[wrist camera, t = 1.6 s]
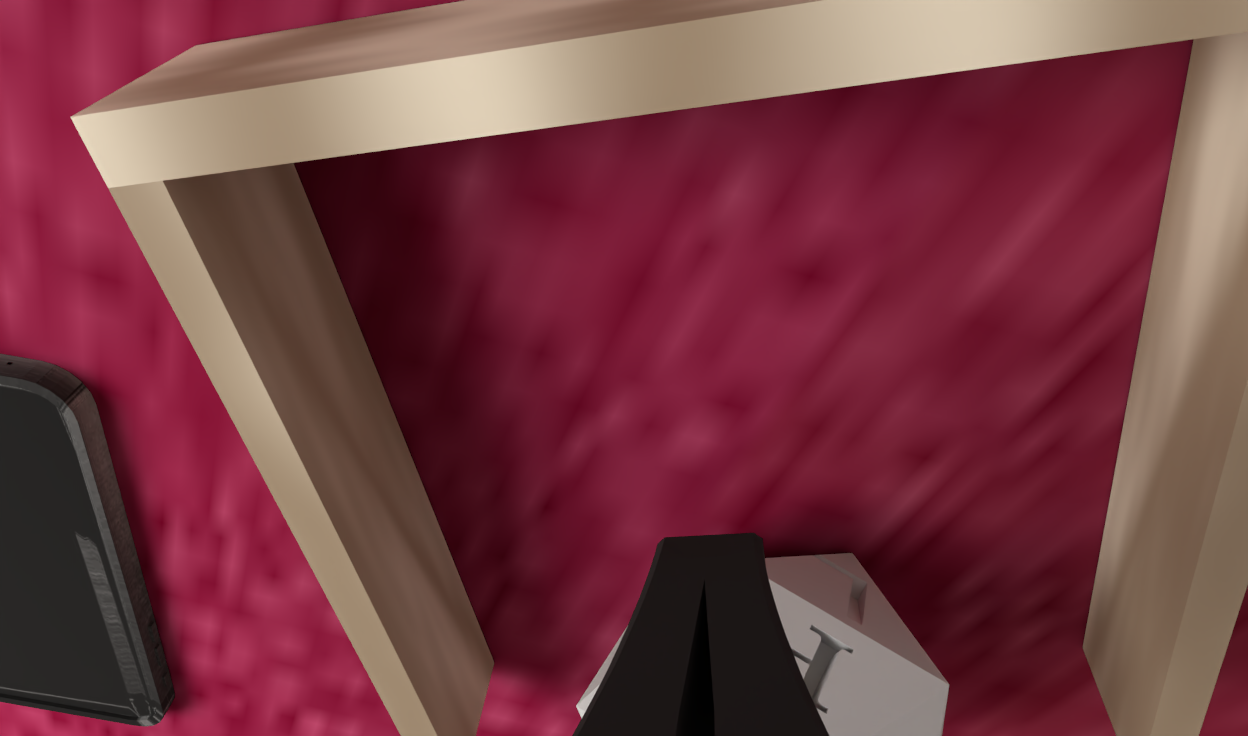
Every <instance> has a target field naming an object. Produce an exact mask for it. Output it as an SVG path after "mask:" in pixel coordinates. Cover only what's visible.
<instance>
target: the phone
mask: <svg viewBox="0 0 1248 736" xmlns="http://www.w3.org/2000/svg"><path fill="white" fill-rule="evenodd" d="M8 362H13V363H12V364H11V365H8V364H7V363H8ZM174 698H175V692H174V688H173V684H172V681H171V677H170V673H169V670H168V666H167V662H166V659H165V655H164V651H163V648H162V644H161V640H160V637H159V633H158V629H157V626H156V622H155V618H154V614H153V611H152V607H151V603H150V600H149V596H148V592H147V589H146V585H145V581H144V578H143V574H142V570H141V567H140V563H139V559H138V556H137V552H136V548H135V545H134V541H133V537H132V534H131V530H130V526H129V523H128V519H127V515H126V512H125V508H124V504H123V501H122V497H121V493H120V490H119V486H118V482H117V479H116V475H115V471H114V468H113V464H112V460H111V457H110V453H109V449H108V446H107V442H106V438H105V435H104V431H103V427H102V424H101V420H100V416H99V412H98V409H97V405H96V403H95V401H94V398H93V396H92V394H91V392H90V391H89V390H88V389H87V388H86V386H85V385H84V384H83V383H82V382H81V381H80V380H79V379H77V378H76V377H75V376H74V375H72V374H71V373H70V372H68V371H66V370H64V369H62V368H60V367H58V366H56V365H54V364H50V363H47V362H43V361H39V360H34V359H28V358H22V357H16V356H10V355H4V354H0V702H5V703H11V704H17V705H22V706H28V707H34V708H39V709H45V710H51V711H56V712H62V713H68V714H73V715H79V716H85V717H90V718H96V719H102V720H107V721H113V722H119V723H124V724H130V725H136V726H152V725H155V724H157V723H159V722H160V721H161V720H162V718H163V717H164V715H165V713H166V712H167V710H168V708H169V707H170V705H171V703H172V701H173V700H174Z"/></svg>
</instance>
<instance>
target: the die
mask: <svg viewBox="0 0 1248 736" xmlns="http://www.w3.org/2000/svg"><path fill="white" fill-rule="evenodd" d="M765 563H766V570H767V575H768V579H769V583H770V587H771V591H772V594H773V597H774V601H775V604H776V607H777V610H778V614H779V617H780V620H781V623H782V625H783V628H784V631H785V634H786V637H787V639H788V642H789V644H790V647H791V649H792V652H793V654H794V657H795V659H796V662H797V664H798V667H799V670H800V672H801V675H802V677H803V679H804V682H805V684H806V686H807V688H808V691H809V693H810V695H811V698H812V700H813V702H814V704H815V706H816V708H817V710H818V713H819V715H820V717H821V719H822V721H823V723H824V725H825V728H826V730H827V732H828V734H829V736H942V731H943V724H944V718H945V711H946V704H947V697H948V690H949V684H948V682H947V681H946V679H945V678H944V677H943V675H942V674H941V673H940V671H939V670H938V669H937V667H936V666H935V665H934V663H933V662H932V660H931V659H930V658H929V656H928V655H927V654H926V652H925V651H924V650H923V648H922V647H921V645H920V644H919V643H918V641H917V640H916V639H915V637H914V636H913V635H912V633H911V632H910V631H909V629H908V628H907V626H906V625H905V624H904V622H903V621H902V620H901V618H900V617H899V616H898V614H897V613H896V612H895V610H894V609H893V607H892V606H891V605H890V603H889V602H888V601H887V599H886V598H885V597H884V595H883V594H882V592H881V591H880V590H879V588H878V587H877V586H876V584H875V583H874V582H873V580H872V579H871V578H870V576H869V575H868V573H867V572H866V571H865V569H864V568H863V567H862V565H861V564H860V563H859V561H858V560H857V558H856V557H855V556H854V554H853V553H842V554H825V555H809V556H792V557H775V558H765ZM627 627H628V626H627ZM626 629H627V628H626ZM626 629H625V631H626ZM625 631H624V632H623V634H622V635H621V637H620V639H619V640H618V642H617V643H616V645H615V646H614V648H613V649H612V651H611V652H610V654H609V656H608V657H607V659H606V660H605V662H604V663H603V665H602V666H601V668H600V670H599V671H598V673H597V674H596V676H595V677H594V679H593V680H592V682H591V683H590V685H589V687H588V688H587V690H586V691H585V693H584V694H583V696H582V697H581V699H580V701H579V702H578V704H577V705H576V707H577V709H578V711H579V714H580V716H581V718H582V717H583V715H584V713H585V712H586V710H587V708H588V706H589V704H590V702H591V700H592V699H593V697H594V695H595V693H596V691H597V689H598V687H599V685H600V684H601V682H602V680H603V678H604V676H605V674H606V672H607V670H608V668H609V666H610V663H611V661H612V659H613V657H614V655H615V653H616V650H617V648H618V646H619V644H620V642H621V640H622V637H623V635H624V633H625Z"/></svg>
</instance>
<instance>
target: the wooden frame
mask: <svg viewBox="0 0 1248 736" xmlns="http://www.w3.org/2000/svg"><path fill="white" fill-rule="evenodd" d="M1191 39H1194V40H1193V46H1192V51H1191V57H1190V62H1189V68H1188V73H1187V79H1186V84H1185V90H1184V95H1183V101H1182V106H1181V112H1180V117H1179V122H1178V128H1177V133H1176V139H1175V144H1174V150H1173V155H1172V161H1171V166H1170V172H1169V177H1168V183H1167V188H1166V194H1165V199H1164V205H1163V210H1162V215H1161V221H1160V226H1159V232H1158V237H1157V243H1156V248H1155V254H1154V259H1153V265H1152V270H1151V276H1150V281H1149V287H1148V292H1147V298H1146V303H1145V309H1144V314H1143V319H1142V325H1141V330H1140V336H1139V341H1138V347H1137V352H1136V358H1135V363H1134V369H1133V374H1132V380H1131V385H1130V391H1129V396H1128V402H1127V407H1126V412H1125V418H1124V423H1123V429H1122V434H1121V440H1120V445H1119V451H1118V456H1117V462H1116V467H1115V473H1114V478H1113V484H1112V489H1111V495H1110V500H1109V506H1108V511H1107V516H1106V522H1105V527H1104V533H1103V538H1102V544H1101V549H1100V555H1099V560H1098V566H1097V571H1096V577H1095V582H1094V588H1093V593H1092V599H1091V604H1090V610H1089V615H1088V620H1087V626H1086V631H1085V637H1084V642H1083V650H1084V653H1085V656H1086V658H1087V661H1088V663H1089V666H1090V669H1091V671H1092V674H1093V676H1094V679H1095V682H1096V684H1097V687H1098V689H1099V692H1100V695H1101V697H1102V700H1103V702H1104V705H1105V708H1106V710H1107V713H1108V715H1109V718H1110V721H1111V723H1112V726H1113V728H1114V731H1115V733H1116V736H1199V733H1200V730H1201V727H1202V724H1203V721H1204V718H1205V714H1206V711H1207V708H1208V705H1209V702H1210V699H1211V696H1212V693H1213V690H1214V687H1215V684H1216V681H1217V678H1218V674H1219V671H1220V668H1221V665H1222V662H1223V659H1224V656H1225V653H1226V650H1227V647H1228V644H1229V641H1230V638H1231V634H1232V631H1233V628H1234V625H1235V622H1236V619H1237V616H1238V613H1239V610H1240V607H1241V604H1242V601H1243V598H1244V595H1245V591H1246V588H1247V585H1248V0H465V1H459V2H453V3H447V4H441V5H435V6H429V7H423V8H417V9H411V10H405V11H399V12H393V13H387V14H381V15H375V16H369V17H363V18H357V19H351V20H345V21H339V22H333V23H327V24H321V25H315V26H309V27H303V28H297V29H291V30H285V31H279V32H273V33H267V34H261V35H255V36H249V37H243V38H237V39H231V40H225V41H219V42H213V43H207V44H201V45H196V46H194V47H192V48H191V49H189V50H187V51H185V52H184V53H182V54H180V55H178V56H177V57H175V58H173V59H171V60H170V61H168V62H166V63H164V64H162V65H161V66H159V67H157V68H155V69H154V70H152V71H150V72H148V73H147V74H145V75H143V76H141V77H140V78H138V79H136V80H134V81H133V82H131V83H129V84H127V85H126V86H124V87H122V88H120V89H119V90H117V91H115V92H113V93H112V94H110V95H108V96H106V97H105V98H103V99H101V100H99V101H98V102H96V103H94V104H92V105H91V106H89V107H87V108H85V109H84V110H82V111H80V112H78V113H77V114H75V115H73V116H71V119H72V121H73V123H74V125H75V127H76V129H77V130H78V132H79V134H80V136H81V138H82V140H83V142H84V144H85V145H86V147H87V149H88V151H89V153H90V155H91V157H92V158H93V160H94V162H95V164H96V166H97V168H98V170H99V172H100V173H101V175H102V177H103V179H104V181H105V183H106V185H107V187H108V188H109V190H110V192H111V194H112V196H113V198H114V200H115V202H116V203H117V205H118V207H119V209H120V211H121V213H122V215H123V216H124V218H125V220H126V222H127V224H128V226H129V228H130V230H131V231H132V233H133V235H134V237H135V239H136V241H137V243H138V245H139V246H140V248H141V250H142V252H143V254H144V256H145V258H146V260H147V261H148V263H149V265H150V267H151V269H152V271H153V273H154V274H155V276H156V278H157V280H158V282H159V284H160V286H161V288H162V289H163V291H164V293H165V295H166V297H167V299H168V301H169V303H170V304H171V306H172V308H173V310H174V312H175V314H176V316H177V318H178V319H179V321H180V323H181V325H182V327H183V329H184V331H185V332H186V334H187V336H188V338H189V340H190V342H191V344H192V346H193V347H194V349H195V351H196V353H197V355H198V357H199V359H200V361H201V362H202V364H203V366H204V368H205V370H206V372H207V374H208V376H209V377H210V379H211V381H212V383H213V385H214V387H215V389H216V390H217V392H218V394H219V396H220V398H221V400H222V402H223V404H224V405H225V407H226V409H227V411H228V413H229V415H230V417H231V419H232V420H233V422H234V424H235V426H236V428H237V430H238V432H239V434H240V435H241V437H242V439H243V441H244V443H245V445H246V447H247V448H248V450H249V452H250V454H251V456H252V458H253V460H254V462H255V463H256V465H257V467H258V469H259V471H260V473H261V475H262V477H263V478H264V480H265V482H266V484H267V486H268V488H269V490H270V492H271V493H272V495H273V497H274V499H275V501H276V503H277V505H278V506H279V508H280V510H281V512H282V514H283V516H284V518H285V520H286V521H287V523H288V525H289V527H290V529H291V531H292V533H293V535H294V536H295V538H296V540H297V542H298V544H299V546H300V548H301V550H302V551H303V553H304V555H305V557H306V559H307V561H308V563H309V564H310V566H311V568H312V570H313V572H314V574H315V576H316V578H317V579H318V581H319V583H320V585H321V587H322V589H323V591H324V593H325V594H326V596H327V598H328V600H329V602H330V604H331V606H332V608H333V609H334V611H335V613H336V615H337V617H338V619H339V621H340V622H341V624H342V626H343V628H344V630H345V632H346V634H347V636H348V637H349V639H350V641H351V643H352V645H353V647H354V649H355V651H356V652H357V654H358V656H359V658H360V660H361V662H362V664H363V666H364V667H365V669H366V671H367V673H368V675H369V677H370V679H371V681H372V682H373V684H374V686H375V688H376V690H377V692H378V694H379V695H380V697H381V699H382V701H383V703H384V705H385V707H386V709H387V710H388V712H389V714H390V716H391V718H392V720H393V722H394V724H395V725H396V727H397V729H398V731H399V733H400V735H401V736H476V732H477V728H478V724H479V721H480V717H481V713H482V709H483V705H484V701H485V697H486V693H487V689H488V686H489V682H490V678H491V674H492V670H493V666H494V661H493V658H492V656H491V653H490V651H489V648H488V646H487V643H486V641H485V638H484V636H483V633H482V631H481V628H480V626H479V623H478V621H477V618H476V616H475V613H474V611H473V608H472V606H471V603H470V601H469V598H468V596H467V593H466V591H465V588H464V586H463V584H462V581H461V579H460V576H459V574H458V571H457V569H456V566H455V564H454V561H453V559H452V556H451V554H450V551H449V549H448V546H447V544H446V541H445V539H444V536H443V534H442V531H441V529H440V526H439V524H438V521H437V519H436V516H435V514H434V511H433V509H432V506H431V504H430V501H429V499H428V496H427V494H426V492H425V489H424V487H423V484H422V482H421V479H420V477H419V474H418V472H417V469H416V467H415V464H414V462H413V459H412V457H411V454H410V452H409V449H408V447H407V444H406V442H405V439H404V437H403V434H402V432H401V429H400V427H399V424H398V422H397V419H396V417H395V414H394V412H393V409H392V407H391V405H390V402H389V400H388V397H387V395H386V392H385V390H384V387H383V385H382V382H381V380H380V377H379V375H378V372H377V370H376V367H375V365H374V362H373V360H372V357H371V355H370V352H369V350H368V347H367V345H366V342H365V340H364V337H363V335H362V332H361V330H360V327H359V325H358V322H357V320H356V317H355V315H354V313H353V310H352V308H351V305H350V303H349V300H348V298H347V295H346V293H345V290H344V288H343V285H342V283H341V280H340V278H339V275H338V273H337V270H336V268H335V265H334V263H333V260H332V258H331V255H330V253H329V250H328V248H327V245H326V243H325V240H324V238H323V235H322V233H321V230H320V228H319V226H318V223H317V221H316V218H315V216H314V213H313V211H312V208H311V206H310V203H309V201H308V198H307V196H306V193H305V191H304V188H303V186H302V183H301V181H300V178H299V176H298V173H297V171H296V168H295V166H294V163H295V162H303V161H310V160H317V159H325V158H332V157H339V156H346V155H354V154H361V153H368V152H376V151H383V150H390V149H397V148H405V147H412V146H419V145H426V144H434V143H441V142H448V141H456V140H463V139H470V138H477V137H485V136H492V135H499V134H507V133H514V132H521V131H528V130H536V129H543V128H550V127H558V126H565V125H572V124H579V123H587V122H594V121H601V120H609V119H616V118H623V117H630V116H638V115H645V114H652V113H660V112H667V111H674V110H681V109H689V108H696V107H703V106H711V105H718V104H725V103H732V102H740V101H747V100H754V99H761V98H769V97H776V96H783V95H791V94H798V93H805V92H812V91H820V90H827V89H834V88H842V87H849V86H856V85H863V84H871V83H878V82H885V81H893V80H900V79H907V78H914V77H922V76H929V75H936V74H944V73H951V72H958V71H965V70H973V69H980V68H987V67H995V66H1002V65H1009V64H1016V63H1024V62H1031V61H1038V60H1046V59H1053V58H1060V57H1067V56H1075V55H1082V54H1089V53H1097V52H1104V51H1111V50H1118V49H1126V48H1133V47H1140V46H1147V45H1155V44H1162V43H1169V42H1177V41H1184V40H1191Z"/></svg>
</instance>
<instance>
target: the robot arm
mask: <svg viewBox="0 0 1248 736" xmlns="http://www.w3.org/2000/svg"><path fill="white" fill-rule="evenodd" d="M572 736H829V734H828V732H827V730H826V728H825V725H824V723H823V721H822V719H821V717H820V715H819V713H818V710H817V708H816V706H815V704H814V702H813V700H812V698H811V695H810V693H809V691H808V688H807V686H806V684H805V682H804V679H803V677H802V675H801V672H800V670H799V667H798V664H797V662H796V659H795V657H794V654H793V652H792V649H791V647H790V644H789V642H788V639H787V637H786V634H785V631H784V628H783V625H782V623H781V620H780V617H779V614H778V610H777V607H776V604H775V601H774V597H773V594H772V591H771V587H770V583H769V579H768V575H767V570H766V563H765V555H764V546H763V539H762V538H761V537H759V536H758V535H756V534H755V533H741V534H722V535H703V536H685V537H666V538H664V539H663V540H662V541H660V542H659V543H658V545H657V548H656V552H655V555H654V559H653V562H652V565H651V568H650V571H649V574H648V577H647V579H646V582H645V585H644V587H643V590H642V593H641V595H640V598H639V600H638V603H637V605H636V608H635V610H634V612H633V615H632V617H631V620H630V622H629V624H628V627H627V629H626V631H625V633H624V635H623V637H622V640H621V642H620V644H619V646H618V648H617V650H616V653H615V655H614V657H613V659H612V661H611V663H610V666H609V668H608V670H607V672H606V674H605V676H604V678H603V680H602V682H601V684H600V685H599V687H598V689H597V691H596V693H595V695H594V697H593V699H592V700H591V702H590V704H589V706H588V708H587V710H586V712H585V713H584V715H583V717H582V719H581V721H580V723H579V725H578V727H577V728H576V730H575V732H574V734H573V735H572Z"/></svg>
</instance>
